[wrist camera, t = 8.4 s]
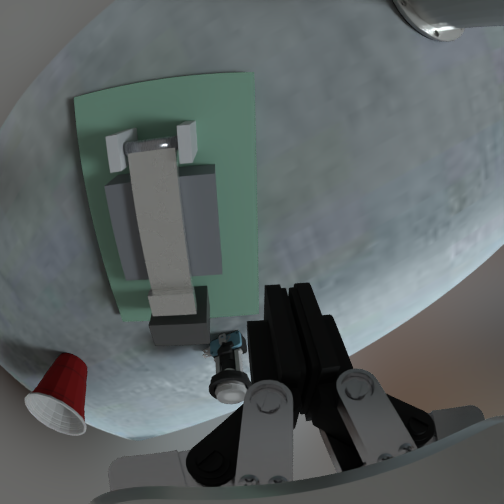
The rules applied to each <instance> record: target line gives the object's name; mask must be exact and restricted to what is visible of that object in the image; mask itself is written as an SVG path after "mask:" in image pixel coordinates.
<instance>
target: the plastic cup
mask: <svg viewBox="0 0 504 504" xmlns="http://www.w3.org/2000/svg"><path fill="white" fill-rule="evenodd" d="M86 380H87V366H86V364H85V363H84V362H83V361H82V360H81V359H80V358H78V357H77V356H75V355H73V354H69V353H62V354H61V355H60V356H59V357H58V358H57V359H56V360H55V362H54V363H53V365H52V366H51V367H50V368H49V370H48V371H47V373H46V374H45V375H44V377H43V378H42V380H41V381H40V383H39V384H38V386H37V387H36V388H35V389H34V391H33V392H32V393H29V394H28V395H27V396H26V397H25V405H26V407H27V408H28V410H29V411H30V413H31V414H32V415H33V416H34V417H35V418H37V419H38V420H39V421H40V422H42V423H43V424H45V425H46V426H48V427H50V428H51V429H54V430H56V431H58V432H61V433H64V434H68V435H81V434H84V433H85V431H86V428H87V427H86V423H85V416H84V412H85V411H84V406H85V394H86Z"/></svg>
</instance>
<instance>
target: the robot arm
mask: <svg viewBox="0 0 504 504" xmlns="http://www.w3.org/2000/svg"><path fill="white" fill-rule="evenodd" d="M393 2H394V4H395V5H396V7H397V9H398V10H399V12H400V13H401V14H402V16H403V17H404V18H405V19H406V20H407V21H408V23H409V24H410V25H411V26H412V27H414V28H415V29H416V30H417V31H418V32H420V33H421V34H423V35H424V36H426V37H428V38H430V39H432V40H435V41H440V42H448V41H454V40H456V39H458V38H459V37H460V36H461V35H462V33H463V32H464V29H465V28H473V27H488V26H504V0H393ZM247 335H248V352H249V363H250V374H251V384H252V386H250V387H249V389H248V390H247V391H246V394H245V397H244V404H242V405H241V406H240V407H239V408H238V409H237V410H236V411H235V412H234V413H233V414H231V415H230V416H229V417H228V418H227V419H226V420H225V421H224V422H222V424H220V425H219V426H218V427H217V428H216V429H214V430H213V431H212V432H211V433H210V434H209V435H207V436H206V437H205V438H204V439H203V440H201V441H200V442H199V443H198V444H197V445H195V446H194V447H193V448H192V449H191V450H187V451H181V452H178V451H177V450H175V451H170V452H162V453H154V454H146V455H136V456H126V457H121V458H117V459H116V460H114V461H113V462H112V463H111V465H110V466H109V471H108V476H109V483H110V490H111V491H110V492H107V493H105V494H102V495H100V496H98V497H96V498H94V499H93V500H92V501H91V502H90V504H504V416H496V417H492V418H488V419H486V420H485V419H484V415H483V413H482V411H481V410H480V409H479V408H478V407H476V406H473V405H472V406H471V405H469V406H463V407H456V408H449V409H442V410H434V411H432V412H431V413H426V412H425V411H423V410H420V409H418V408H416V407H414V406H412V405H409V404H407V403H405V402H403V401H401V400H399V399H396V398H394V397H392V396H390V395H388V394H386V393H385V392H384V390H383V388H382V387H381V385H380V384H379V382H378V380H377V379H376V378H375V376H374V375H373V374H371V373H370V372H368V371H365V370H363V369H353V366H352V364H351V361H350V359H349V356H348V353H347V351H346V348H345V346H344V343H343V341H342V338H341V336H340V333H339V331H338V328H337V326H336V323H335V321H334V318H333V317H332V315H322V314H321V311H320V308H319V306H318V303H317V301H316V298H315V295H314V293H313V290H312V287H311V285H310V283H295V284H294V287H292V288H289V294H287V291H286V288H281V287H280V285H265V297H264V320H260V321H247ZM299 412H300V414H305V417H306V421H310V420H312V423H313V425H314V426H316V427H318V428H319V430H320V434H321V437H322V439H323V441H324V444H325V446H326V448H327V451H328V453H329V455H330V458H331V460H332V463H333V465H334V467H335V470H336V472H337V473H335V474H331V475H326V476H321V477H315V478H309V479H304V480H297V481H293V429H294V428H295V426H296V422H297V419H298V415H299Z"/></svg>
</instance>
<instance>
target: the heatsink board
mask: <svg viewBox="0 0 504 504" xmlns="http://www.w3.org/2000/svg"><path fill="white" fill-rule="evenodd" d="M74 106H75V117H76V127H77V136H78V144H79V151H80V158H81V164H82V171H83V176H84V182H85V187H86V192H87V197H88V202H89V207H90V211H91V216H92V220H93V224H94V229H95V233H96V237H97V240H98V244H99V248H100V252H101V255H102V259H103V262H104V266H105V269H106V272H107V276H108V279H109V282H110V285H111V288H112V291H113V294H114V297H115V300H116V303H117V306H118V309H119V312H120V315H121V317H122V320H123V322H124V321H150V322H149V328H150V331H151V334H152V337H153V340H154V343H155V346H169V345H193V344H210V318H214V317H228V316H241V315H252V314H259V290H258V226H257V172H256V125H255V83H254V72H236V73H215V74H202V75H191V76H181V77H173V78H165V79H158V80H152V81H145V82H140V83H134V84H129V85H124V86H119V87H114V88H110V89H105V90H101V91H97V92H93V93H89V94H85V95H82V96H78V97H74ZM169 136H177V137H178V150H177V155H178V167H179V178H180V188H181V197H182V207H183V215H184V224H185V232H186V240H187V247H188V255H189V262H190V269H191V275H192V282H193V287H194V290H195V297H196V303H197V314H189V315H170V316H153V315H152V311H151V307H150V304H149V300H148V293H149V290H150V289H151V285H150V281H149V277H148V272H147V268H146V263H145V258H144V253H143V249H142V243H141V238H140V233H139V228H138V222H137V216H136V210H135V204H134V198H133V191H132V184H131V177H130V169H129V161H128V157H127V156H126V154H125V143H126V142H133V141H139V140H146V139H153V138H161V137H169Z"/></svg>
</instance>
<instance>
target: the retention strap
mask: <svg viewBox="0 0 504 504" xmlns="http://www.w3.org/2000/svg"><path fill="white" fill-rule="evenodd" d="M177 150H178V137H177V136H169V137H161V138H153V139H146V140H139V141H133V142H126V143H125V154H126V156H127V157H128V161H129V169H130V177H131V184H132V191H133V198H134V204H135V210H136V216H137V222H138V228H139V233H140V238H141V243H142V249H143V253H144V258H145V263H146V268H147V272H148V277H149V281H150V285H151V289H150V290H149V293H148V300H149V304H150V307H151V311H152V315H153V316H170V315H189V314H197V303H196V297H195V290H194V287H193V282H192V275H191V269H190V262H189V255H188V247H187V240H186V232H185V224H184V215H183V207H182V197H181V188H180V178H179V167H178V155H177Z"/></svg>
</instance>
